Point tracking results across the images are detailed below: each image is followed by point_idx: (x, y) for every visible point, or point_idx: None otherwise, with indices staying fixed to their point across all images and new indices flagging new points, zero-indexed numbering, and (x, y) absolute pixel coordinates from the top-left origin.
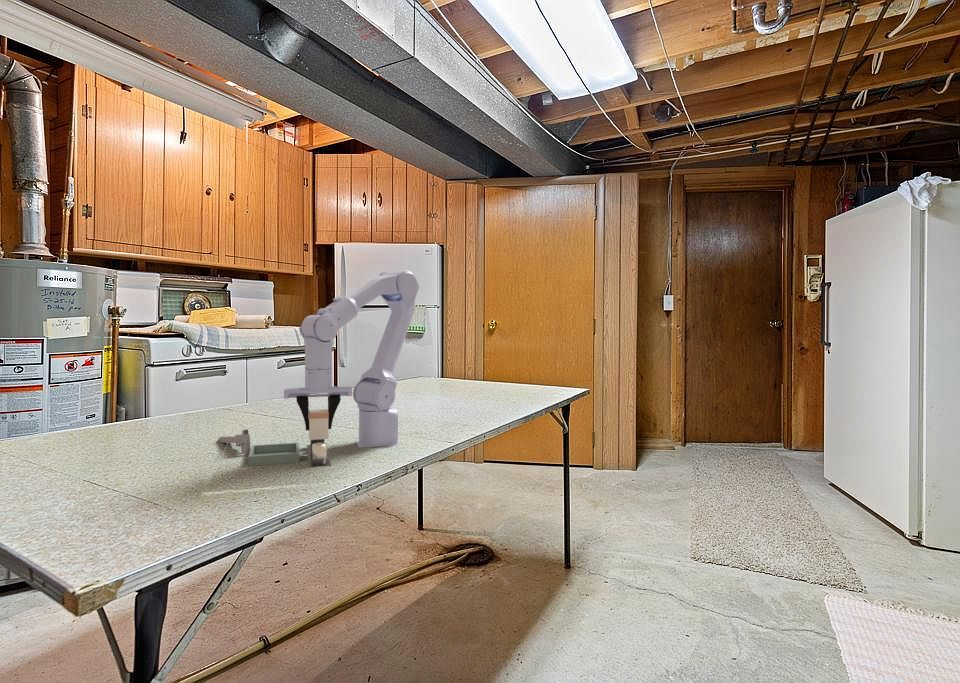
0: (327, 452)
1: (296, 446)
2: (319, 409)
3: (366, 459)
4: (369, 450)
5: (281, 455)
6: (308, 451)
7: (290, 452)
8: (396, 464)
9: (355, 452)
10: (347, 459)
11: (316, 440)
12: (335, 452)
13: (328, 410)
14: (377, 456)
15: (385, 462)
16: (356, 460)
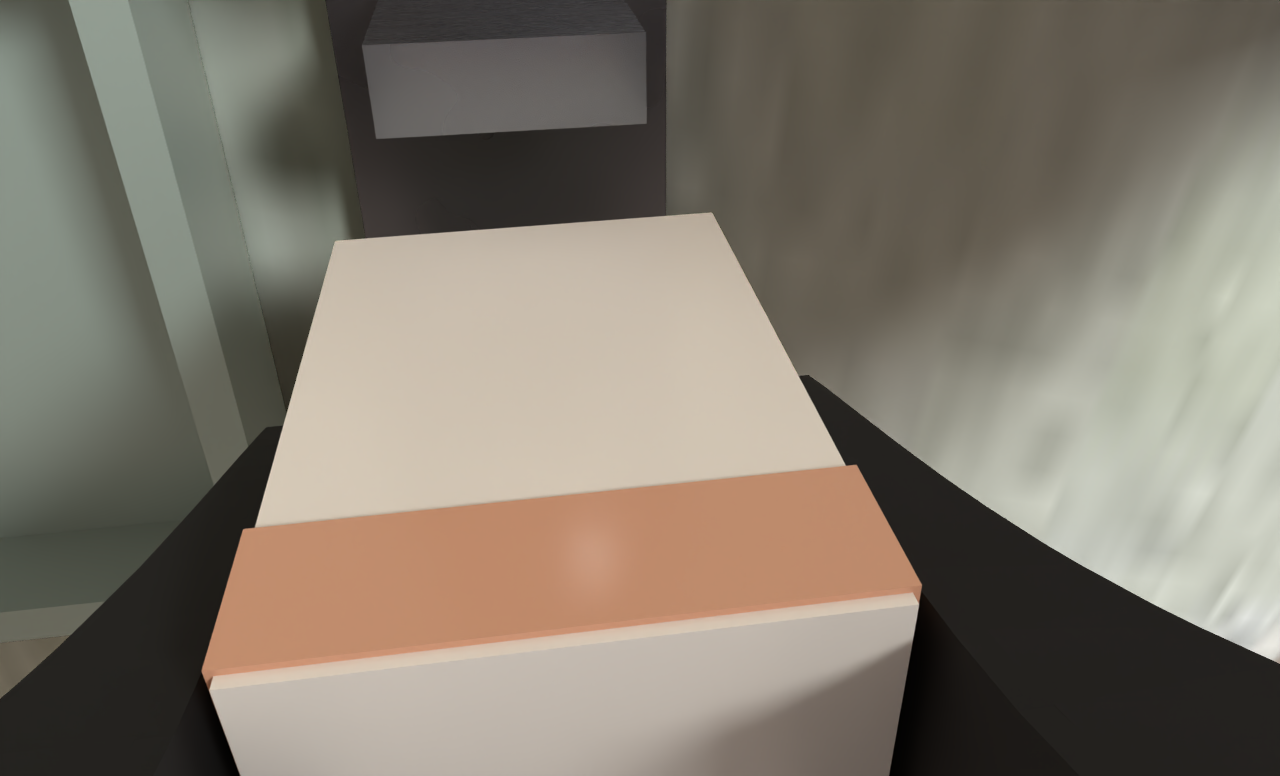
0: (659, 162)
1: (142, 241)
2: (633, 661)
3: (1063, 443)
4: (1272, 29)
5: (53, 628)
6: (349, 32)
7: (28, 36)
8: (1241, 622)
9: (1054, 103)
10: (870, 413)
11: (490, 123)
12: (783, 35)
13: (912, 757)
14: (1221, 349)
15: (1187, 560)
16: (953, 463)
